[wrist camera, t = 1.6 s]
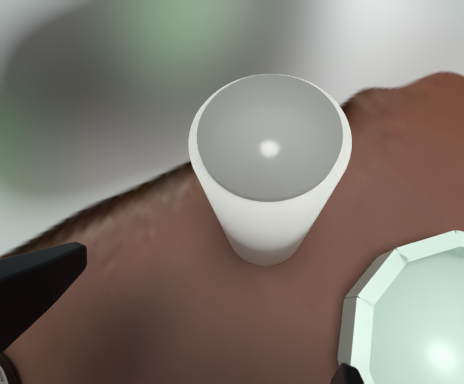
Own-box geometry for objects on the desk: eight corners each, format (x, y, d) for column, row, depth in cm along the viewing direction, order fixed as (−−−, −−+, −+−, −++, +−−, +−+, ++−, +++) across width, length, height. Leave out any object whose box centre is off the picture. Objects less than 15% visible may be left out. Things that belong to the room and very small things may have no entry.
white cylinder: (267, 283, 21) (276, 248, 9) (211, 229, 23) (153, 137, 11) (319, 225, 22) (391, 122, 10) (261, 178, 24) (262, 43, 12)
